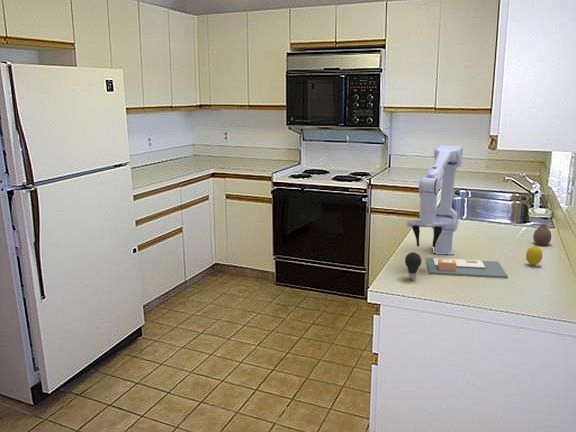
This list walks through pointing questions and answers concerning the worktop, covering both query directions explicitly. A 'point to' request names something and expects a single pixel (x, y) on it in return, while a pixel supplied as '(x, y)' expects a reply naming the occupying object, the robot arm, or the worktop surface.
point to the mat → (471, 270)
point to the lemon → (534, 255)
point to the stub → (446, 265)
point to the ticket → (464, 263)
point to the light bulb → (412, 264)
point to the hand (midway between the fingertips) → (425, 246)
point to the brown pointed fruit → (542, 235)
